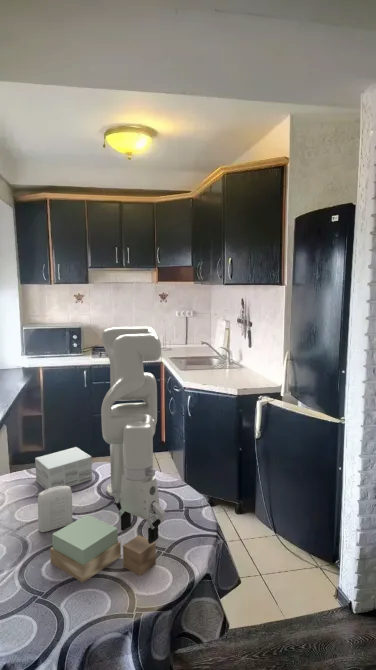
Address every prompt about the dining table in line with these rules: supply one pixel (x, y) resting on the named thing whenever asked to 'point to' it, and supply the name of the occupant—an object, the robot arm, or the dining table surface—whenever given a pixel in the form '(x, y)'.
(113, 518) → the dining table surface
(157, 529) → the robot arm
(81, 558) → the sage top block
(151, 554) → the walnut cube
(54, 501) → the photo printer
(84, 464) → the supplement box
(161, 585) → the dining table surface
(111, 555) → the maple base block
